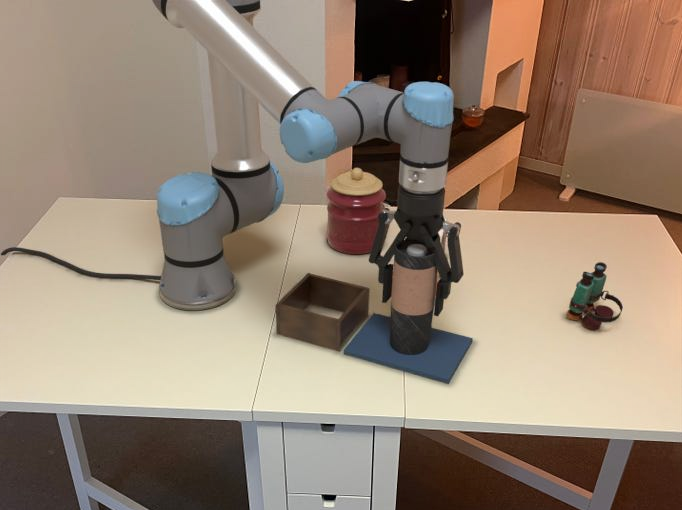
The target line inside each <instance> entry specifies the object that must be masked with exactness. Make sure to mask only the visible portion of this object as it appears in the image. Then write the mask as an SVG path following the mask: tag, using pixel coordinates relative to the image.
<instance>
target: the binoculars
mask: <svg viewBox="0 0 682 510" xmlns="http://www.w3.org/2000/svg"><path fill="white" fill-rule="evenodd" d="M593 268H594V271H592V272H589V271H583V272H582V274H581V275H582V276H581V277H582V278H581V279H579V281H577V282H576V285H575V287H576V288H575V289H574V292H573V295H572V297H571V298H570V302H569V306H568V308H569V309H568V310H567V312H566V315H565V316H566V318H567V319H568V320H574V321H575V320H576V321H577V320H580V321H581V323H582V324H583V325H584V327H585V328H587V329H589V330H592V331H598V330H599V329H600V327H601V325H602V323H612V322H614V321H616V320H618V319H619V318H620V316H621V315H622V312H623V308H624V306H623V303H622V301H621V300H620V299H619V298H618V297H616V296H615V295H614V294H613V295H612V294H610V293H609V291H608V290H604V287H605V284H606V280H607V277H608V276H607V274H606V273H605V272H606V270H607V268H608V265H607V264H606V263H605V262H603V261H598V262H596V263H595V265H594V267H593ZM604 294H605V295H604ZM603 296H604V297H603ZM600 299H601V300H603V301H606V300H610V301H612V302H614V303H615V304H616V305H617V306H618V308H619V310H620V312H619V313H618V314H617V315H614V314H615V313H614V310H613V309H612V308H611V307H610V306H608V305H604V304H598V305H596V306H595V303H597V302H598V301H600Z"/></svg>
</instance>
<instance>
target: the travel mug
mask: <svg viewBox="0 0 682 510" xmlns="http://www.w3.org/2000/svg"><path fill="white" fill-rule="evenodd" d="M434 259H435V254H432V255H431V253H430V250H429V249H428V248H427V247H426V244H425V243H423V242H420V241H417V240H410V239H407V237H406V238H405V239H404V241H403V242H402V244H401V245H400V246H399V247H398V248H396V245H395V254H394V256H393V280H392V294H391V298H390V316H389V317H390V345H391V347H392V348H393V349H394V350H395V351H397V352H399V353H401V354H405V355H416V354H420V353H423V352H424V351H426V350H427V348H428V345H429V339H430V332H431V328H432V326H433V325H432V324H433V318H434V308H435V298H436V296H435V292H436V281H437V268H436V265H435V263H434Z"/></svg>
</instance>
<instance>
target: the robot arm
mask: <svg viewBox="0 0 682 510" xmlns="http://www.w3.org/2000/svg"><path fill="white" fill-rule="evenodd" d="M151 1H152V3H153V5H154V6H155V8H156V9H157V10H158V12H159V13H160V14H161V15H162V16H163V17H164V18H165V20H167V21H168V22H169V23H170V24H171V25H172V26H173V27H175V28H177V29H185V30H186V31H187V32H188V33H189V34H190V35H191V36H192V37H193V38H194V40H196V41H197V42H198V43H199V44H200V45H201V46H202V47H203V48H204V49H205V50H206V53H207V60H208V61H207V63H208V72H209V80H210V90H211V91H210V92H211V100H212V101H211V102H212V112H213V119H214V120H213V122H214V129H215V137H216V138H215V139H216V140H215V141H216V150H217V151H216V153H215V154H214V155H213V157H212V158H211V159H210V168H211V174H209V173H207V172H201V171H193V172H191V173H187V172H184V173H181V174H178V175H175V176H173V177H170V178H168V179H167V180H166V181H164V183H162V185H161V186H159V188H158V190H157V193H156V216H157V218H158V223H159V229H160V236H161V243H162V244H161V245H162V251H163V256H164V261H163V267H162V270H161V271H162V272H161V275H154V274H153V275H151V274H137V273H135V274H133V273H107V272H106V273H105V272H95V271H90V270H87V269H84V268H81V267H79V266H76V265H75V264H73V263H70V262H68V261H66V260H63V259H60V258H58V257H56V256H54V255H52V254H50V253H47V252H45V251H41V250H35V249H31V248H30V249H29V248H25V247H18V246H16V247H15V246H13V247H8V248H6V249H3V251H2V252H1V253H0V256H6V255H7V254H8V253H11V252H20V253H25V254H31V255H36V256H42V257H44V258H47V259H49V260H50V261H53V262H55V263H57V264H60V265H62V266H65V267H67V268H69V269H71V270H73V271H75V272H77V273H80V274H82V275H85V276H91V277H96V278H104V279H134V280H135V279H136V280H150V281H151V280H153V281H159V286H158V288H159V289H158V290H159V295H160V298H161V300H162V302H164V303H165V304H167V306H169V307H172V308H175V309H179V310H183V311H204V310H209V309H214V308H216V307H219V306H222V305H224V304H225V303H227V302H228V301H230V300H231V299H232V298H233V297H234V295H235V294H236V290H237V289H236V288H237V286H236V285H237V284H236V279H237V278H236V274H233V272H232V271H231V268H230V266H229V264H228V263H229V262H228V261H227V259H226V257H225V252H224V243H223V241H224V240H223V238H224V237H227V236H229V235H231V234H233V233H235V232H238V231H240V230H243V229H245V228H247V227H249V226H252V225H254V224H258V223H260V222H263V221H265V220H266V219H267V218H269V217H271V216H272V215H274V214H275V213H276V212H277V211H278V210H279V209H280V207H281V205H282V203H283V199H284V194H285V193H284V190H285V188H284V187H285V186H284V181H283V178H282V175H280V174H279V171H280V170H279V169H278V167H277V166H276V165H275V164H274V163H273V162H272V161H271V158H270V156H269V155H268V153H266V152H265V151H264V150H263V149H262V138H261V137H262V135H261V123H260V109H259V105H260V106H261V107H262V108H263V109H264V110H265V111H266V112H267V113H268V114H269V115H270V116H271V117H272V118H273V119H274V120H275V121H276V122H277V123H278V124H279V125H280V126H279V140H280V143H281V145H283V146H284V147H283V148H284V149H285V150H284V152H285V153H286V154H287V156H288V157H289V158H291V159H292V160H293V161H294V162H297V163H299V164H308V163H309V164H310V163H312V162H316V161H321V160H325V159H328V158H330V157H331V156H332V155H334V154H337V153H339V152H341V151H344V150H346V149H349V148H351V147H354V146H357V145H360V144H362V143H365V142H367V141H370V140H373V139H376V138H377V139H381V140H384V141H385V140H386V141H388V142H391V143H395V144H400V153H399V154H400V155H399V169H398V170H399V171H398V172H399V173H398V183H399V185H398V187H397V200H396V202H397V203H396V209H395V210H391V209H390V208H389V207H385V208H384V209H383V210H382V211H381V212H380V213H379V214H378V224H379V226H378V230H377V233H376V236H375V240H374V243H373V246H372V250H371V252H370V253H369V256H368V262H369V264H371V265H373V264H374V265H376V267H378V277H377V281H378V284H380V285H382V294H381V295H382V296H381V303H382V304H387V303H388V302H389V300H391V294H392V280H393V267H394V263H393V264H392V263H390V262H391V260H392V259H393V258H394V254H395V245H396V248H398V247H399V246H400V245H401V244H402V242H403V241H404V240H405V238H407V239H410V240H417V241H420V242H423V243H425V244H426V247H427V248H428V249H429V250H430V253H431V255H432V254H435V259H434V263H435V265H436V268H437V270H438V273H439V275H440V276H439V281H438V282H437V289H436V296H435V303H434V311H433V317H439V316H440V314H441V312H442V311H443V310H444V302H445V300H447V299H448V298H449V296H450V294H451V291H452V289H451V288H452V283H455V284H459V282H460V281H461V279H462V278H463V277H464V265H463V258H462V257H463V256H462V250H461V248H462V247H461V241H460V233H461V229H462V223H460V222H458V221H456V222H454V223H452V222H449V221H447V222H446V221H445V219H444V217H445V216H444V208H445V198H446V186H447V177H448V166H449V151H450V143H451V135H452V127H453V122H454V117H455V115H454V100H455V99H454V97H455V96H454V92H453V90H452V89H451V88H450V87H449V86H447V85H446V84H444V83H440V82H436V81H435V82H430V81H417V82H412V83H410V84H408V85H407V86H406V87H405V89H404V92H403V91H399V90H396V89H393V88H389V87H385V86H382V85H379V84H377V83H373V82H369V81H360V80H353V81H351V82H349V83H347V84H346V85H345V88H343V89H341V91H340V92H339V94H338V97H335V98H331V99H327V98H326V97H325V96H324V95H323V94H322V93H321V92H320V91H319V90H318V89H316V87H315V86H313V84H312V83H311V82H310V81H308V79H306V78H305V76H304V75H303V74H301V72H299V70H297V69H296V68H295V66H293V65H292V64H291V63H290V62H289V61H288V60H287V59H286V58H285V57H284V56H283V55H282V54H281V53H280V51H278V50H277V49H276V48H275V47H274V46H273V45H272V44H271V43H270V42H269V41H268V40H267V39H266V38H265V37H264V36H263V35H262V34H261V33H260V32H259V31H258V30H257V29H256V28H255V27H254V19H255V17H256V16H257V15H258V14H259V12H260V11H261V10H262V9H261V0H151ZM393 221H395V223H396V225H397V227H398V228H399V229H400V230H399V231H398V233H397V234H396V236H395V237H394V239H393V241H392V243H391V244H390V245H389V246H388V248H387V250H386V252H385V253H384V254H383V255H382V252H383V248H384V245H385V242H386V239H387V235H388V232H389V229H390V226H391V223H393ZM441 229H443V230H444V231H445V236H446V238H447V240H446V243H447V251H448V258H449V261H448V258H447V256H446V252H444V250H443V247H442V245H441V242H440V236H439V233H438V232H439V231H440V230H441Z"/></svg>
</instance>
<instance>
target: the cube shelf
mask: <svg viewBox="0 0 682 510" xmlns="http://www.w3.org/2000/svg"><path fill="white" fill-rule="evenodd" d="M370 290H371V289H370V287H367V286H363V285H359V284H355V283H350V282H346V281H342V280H339V279H334V278H330V277H326V276H323V275H318V274H315V273H314V274H313V273H310V272H307V273H306V274H305V275H304V276H303V277H302V278H301V279H299V281H298V282H297V283H296V284H295V285H294V286H293V287H292V288H291V289H290V290H289V291H288V292H287V293H286V294H285V295H284V296H283V297H282V298H281V299H280V300H279V301H278V302H277V303H276V304H275V324H276V335H279V336H283V337H286V338H290V339H293V340H297V341H300V342H304V343H308V344H311V345H314V346H318V347H322V348H325V349H329V350H332V351H336V352H341V351H342V350H344V348H345V346H347V345H348V343H349V342H350V341H351V340H352V339H353V337H354V336H355V335H356V334H357V332H358V331H359V330H360V329H361V327H362V326H363V325H364V324H365V322H366V321H367V320H368V319H369V316H370V315H369V311H370ZM310 305H314V306H318V307H322V308H325V309H328V310H332V311H337V312H341V313H342V314H341V316H339V318H336V317H333V316H327V315H326V314H325V315H324V314H320V313H317V312H313V311H309V310H306V308H307V307H308V306H310Z"/></svg>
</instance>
